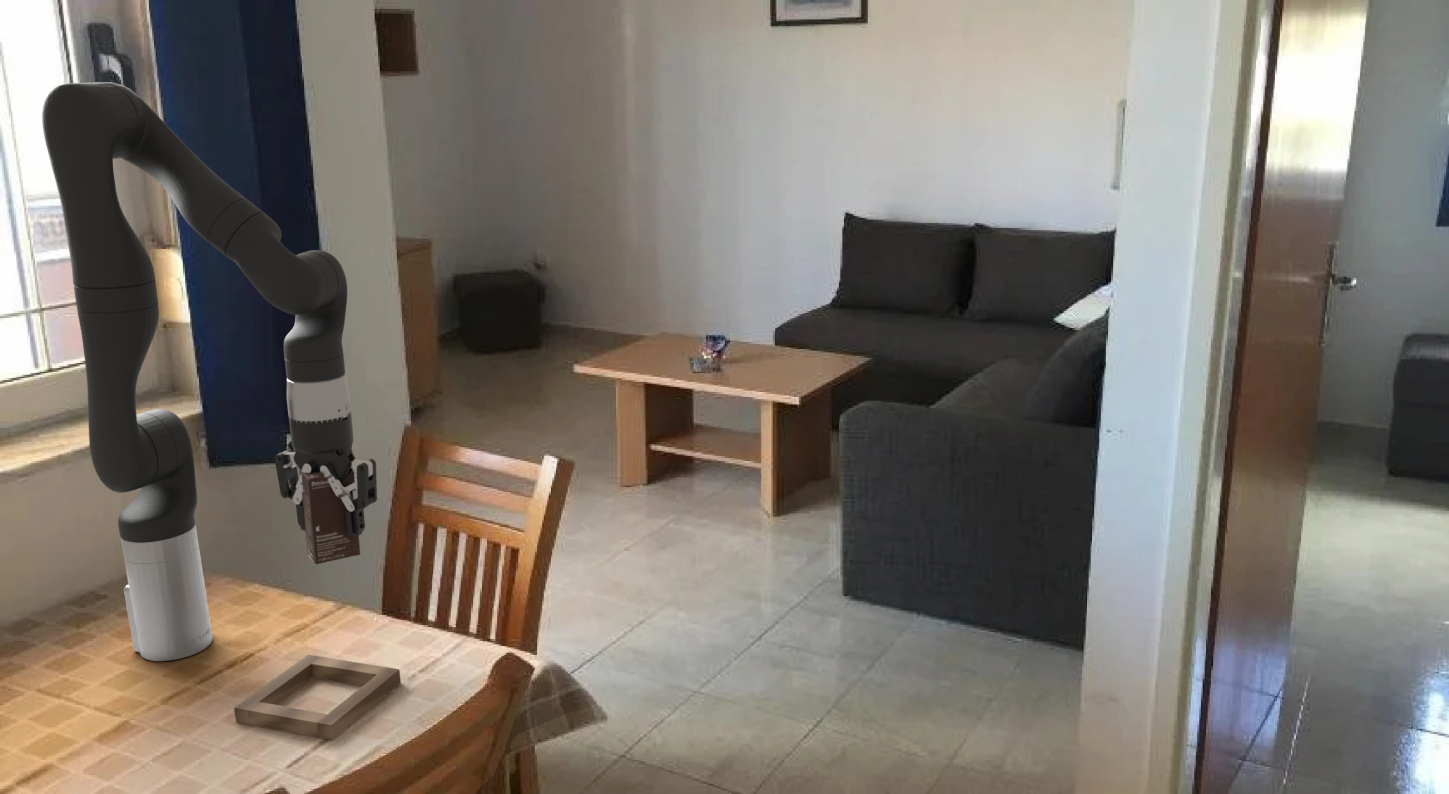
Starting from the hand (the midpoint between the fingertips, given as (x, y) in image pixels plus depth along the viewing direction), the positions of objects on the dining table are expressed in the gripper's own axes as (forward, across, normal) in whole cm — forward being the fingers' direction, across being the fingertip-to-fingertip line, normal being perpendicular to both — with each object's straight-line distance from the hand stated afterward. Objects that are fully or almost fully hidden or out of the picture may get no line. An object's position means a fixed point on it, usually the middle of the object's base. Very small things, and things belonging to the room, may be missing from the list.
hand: (332, 531), depth 154 cm
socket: (+18, +4, -11) cm, 22 cm away
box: (+4, 0, 0) cm, 4 cm away
